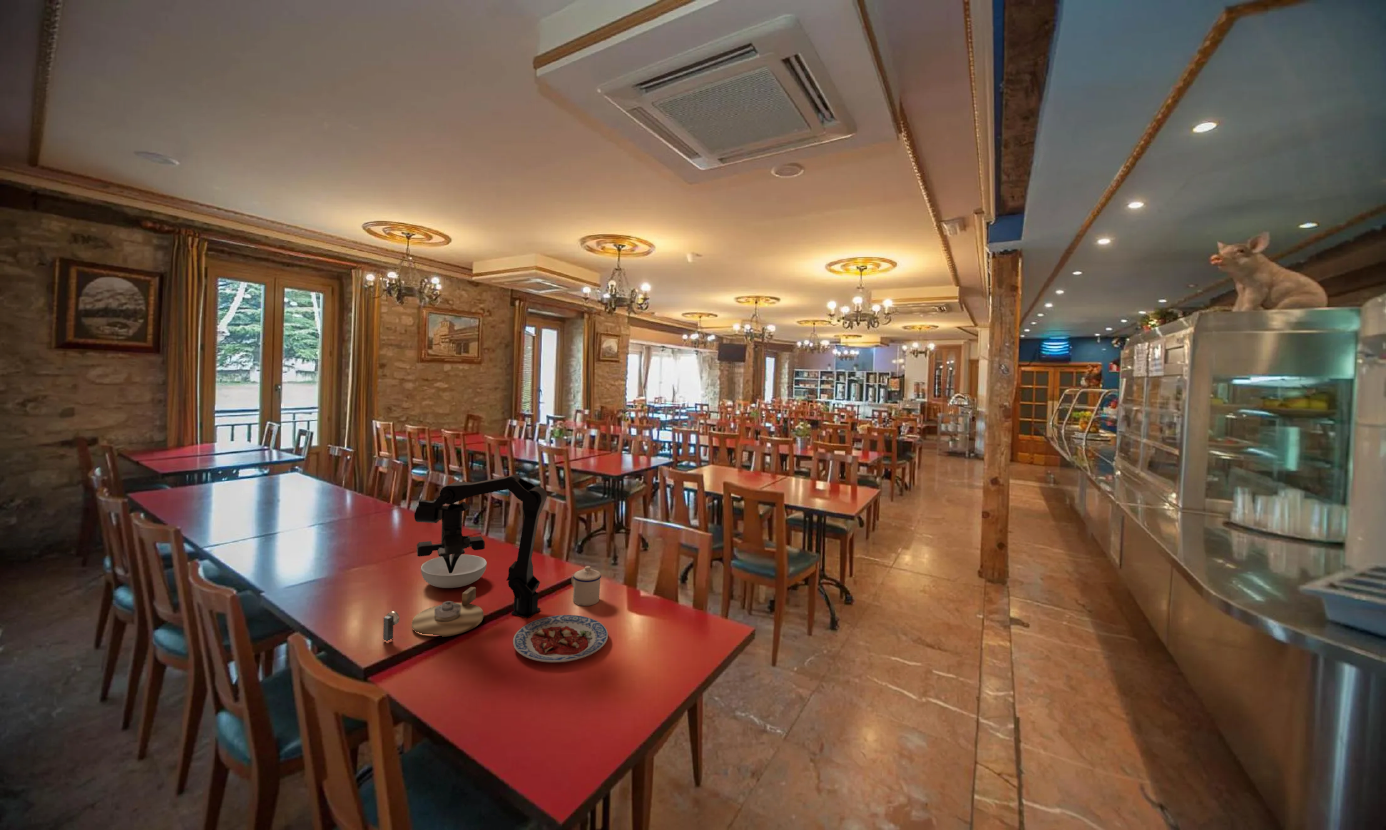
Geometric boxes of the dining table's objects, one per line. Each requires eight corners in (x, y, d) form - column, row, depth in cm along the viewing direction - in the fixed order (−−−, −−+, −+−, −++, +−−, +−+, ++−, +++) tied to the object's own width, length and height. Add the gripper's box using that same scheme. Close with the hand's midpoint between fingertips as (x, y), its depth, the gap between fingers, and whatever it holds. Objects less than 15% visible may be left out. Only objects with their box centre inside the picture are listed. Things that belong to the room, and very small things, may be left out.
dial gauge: (398, 640, 137) (399, 612, 137) (390, 644, 135) (391, 616, 134) (388, 637, 138) (389, 609, 138) (380, 641, 136) (381, 613, 135)
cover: (461, 619, 147) (461, 606, 147) (434, 623, 144) (434, 610, 143) (460, 609, 153) (460, 596, 153) (434, 613, 150) (434, 600, 150)
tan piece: (486, 629, 144) (487, 613, 144) (410, 642, 135) (411, 624, 135) (479, 600, 163) (480, 585, 162) (412, 610, 154) (413, 594, 153)
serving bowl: (469, 597, 166) (470, 577, 165) (407, 593, 166) (407, 573, 166) (495, 574, 187) (496, 555, 186) (440, 570, 187) (440, 552, 187)
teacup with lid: (605, 600, 169) (607, 566, 169) (584, 609, 162) (586, 574, 161) (581, 590, 177) (583, 557, 176) (561, 598, 169) (562, 564, 169)
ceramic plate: (509, 674, 125) (509, 662, 125) (515, 625, 150) (516, 615, 150) (612, 664, 132) (613, 653, 132) (602, 618, 157) (603, 609, 157)
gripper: (419, 534, 144) (417, 587, 145) (488, 527, 153) (486, 577, 154) (417, 523, 153) (415, 573, 154) (482, 518, 163) (480, 565, 164)
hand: (450, 572), depth 156 cm, fingers closed
